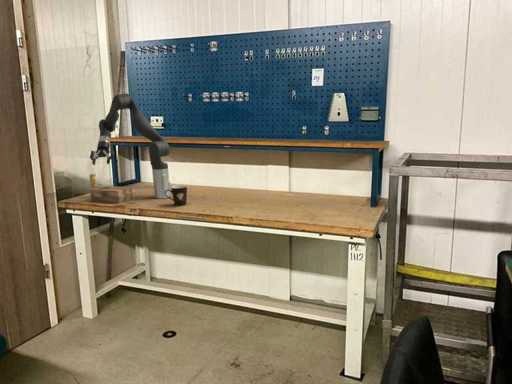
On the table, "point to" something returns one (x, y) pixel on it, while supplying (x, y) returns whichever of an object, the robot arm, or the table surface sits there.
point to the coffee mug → (178, 195)
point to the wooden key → (93, 181)
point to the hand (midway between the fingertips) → (100, 163)
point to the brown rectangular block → (111, 194)
